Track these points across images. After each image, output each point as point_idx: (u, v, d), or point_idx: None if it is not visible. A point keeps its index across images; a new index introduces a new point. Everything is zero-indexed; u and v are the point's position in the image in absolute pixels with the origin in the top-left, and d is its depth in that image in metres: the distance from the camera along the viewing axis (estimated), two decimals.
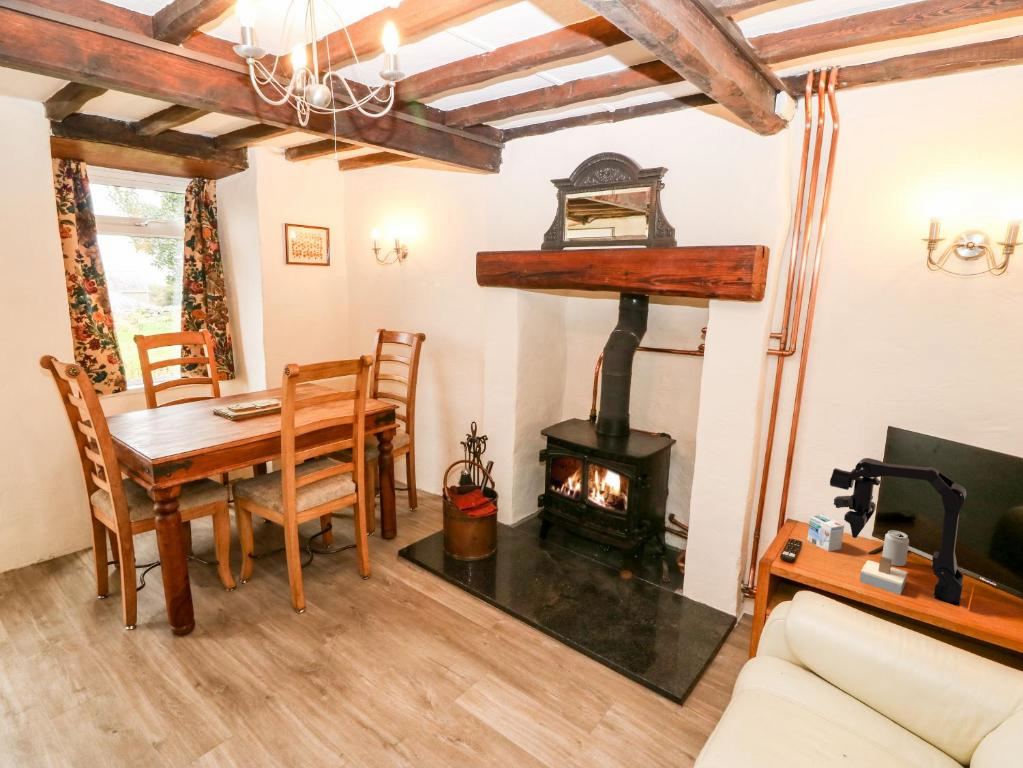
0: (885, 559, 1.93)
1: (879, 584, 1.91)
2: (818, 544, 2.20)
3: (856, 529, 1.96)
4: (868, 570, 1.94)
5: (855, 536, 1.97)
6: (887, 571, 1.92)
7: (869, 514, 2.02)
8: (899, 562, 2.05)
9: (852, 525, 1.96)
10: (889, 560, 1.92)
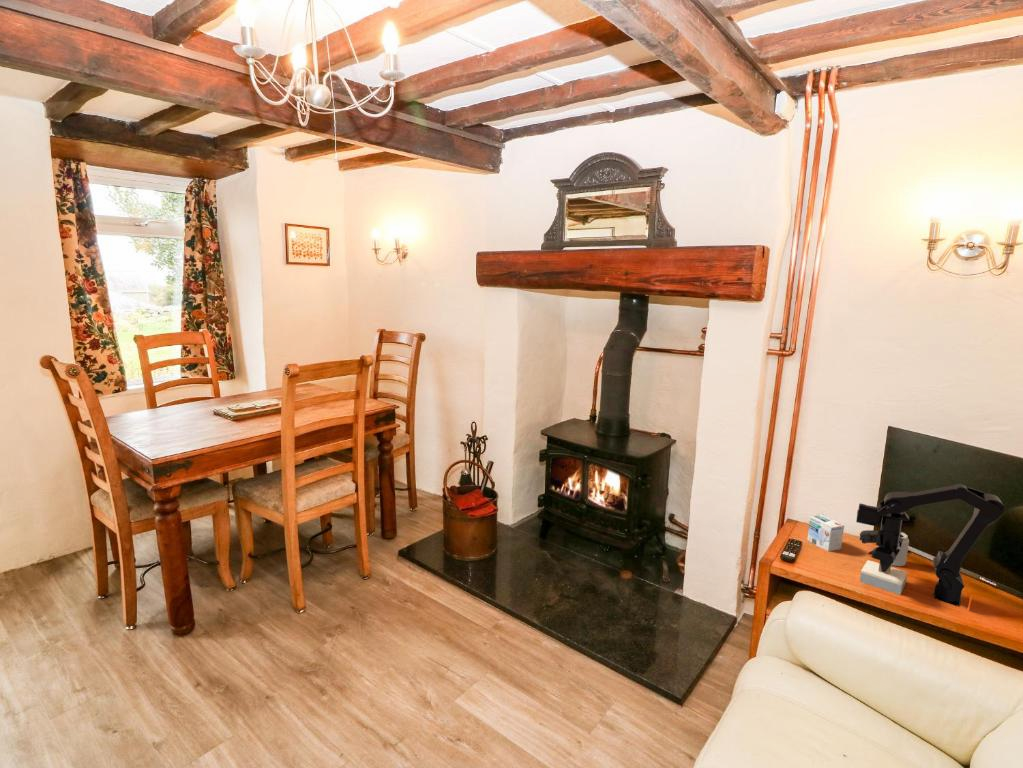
0: None
1: (879, 584, 1.91)
2: (818, 544, 2.20)
3: (886, 563, 1.91)
4: (868, 570, 1.94)
5: (884, 570, 1.92)
6: (887, 571, 1.92)
7: (895, 553, 1.92)
8: (899, 562, 2.05)
9: None
10: None
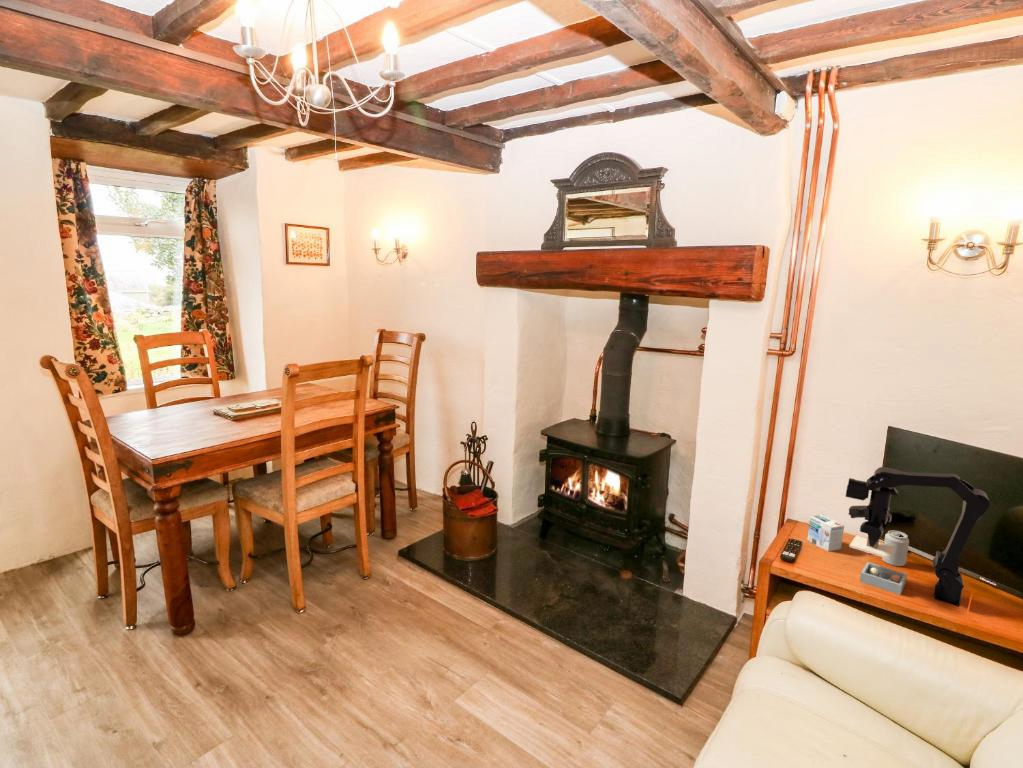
0: None
1: (879, 584, 1.91)
2: (818, 544, 2.20)
3: (874, 538, 1.92)
4: (856, 545, 1.95)
5: (872, 545, 1.93)
6: (875, 545, 1.93)
7: (883, 527, 1.94)
8: (899, 562, 2.05)
9: (870, 533, 1.92)
10: None
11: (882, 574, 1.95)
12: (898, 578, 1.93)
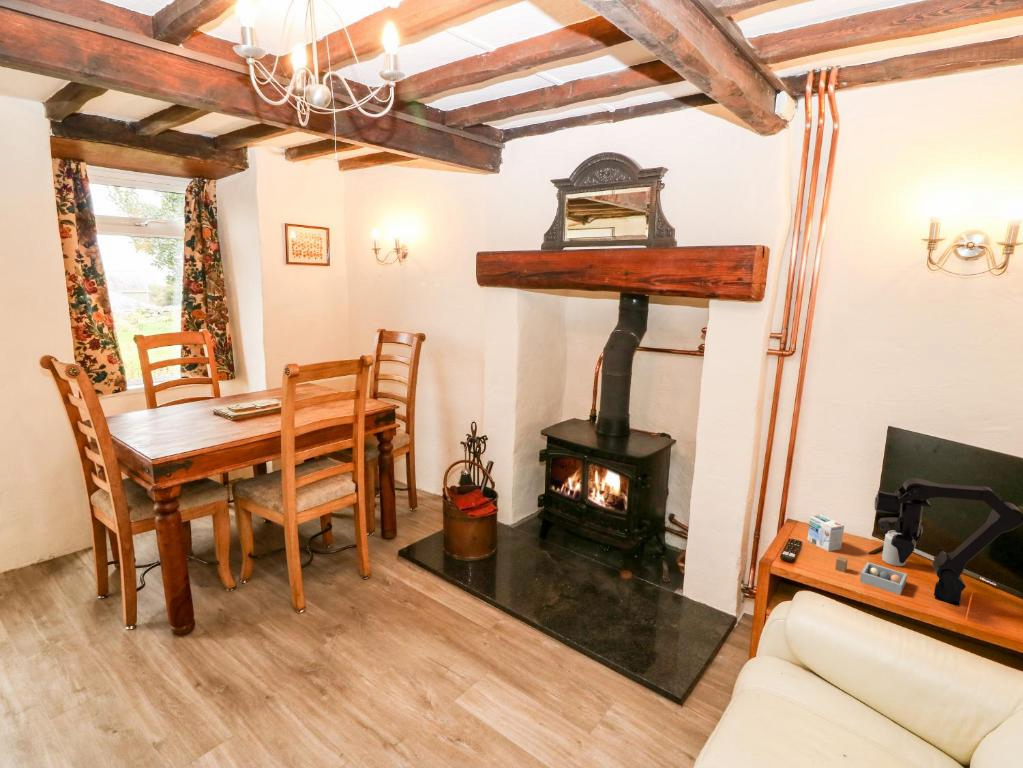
0: (841, 558, 2.02)
1: (879, 584, 1.91)
2: (818, 544, 2.20)
3: (904, 554, 1.83)
4: None
5: (902, 561, 1.85)
6: (843, 570, 2.01)
7: (916, 537, 1.90)
8: (899, 562, 2.05)
9: (899, 550, 1.84)
10: (845, 559, 2.02)
11: (883, 571, 1.96)
12: (898, 578, 1.93)
